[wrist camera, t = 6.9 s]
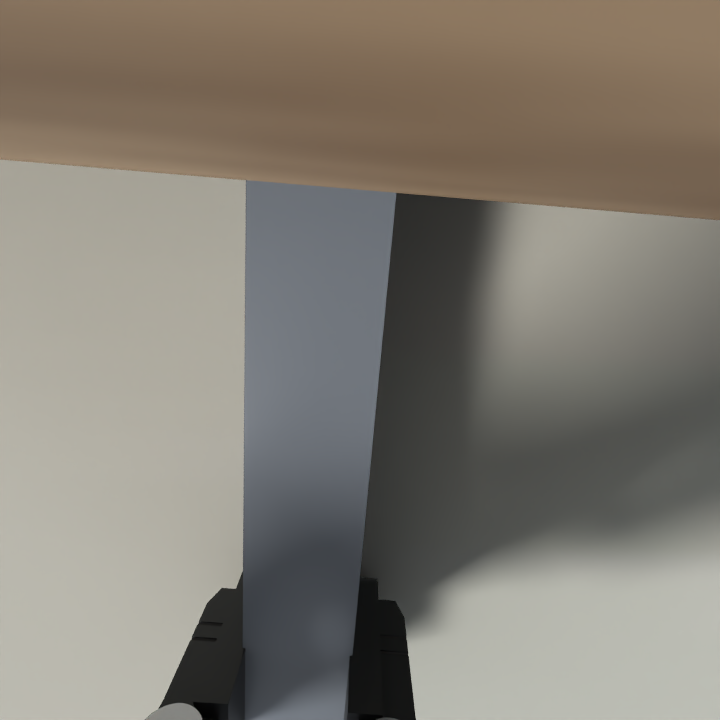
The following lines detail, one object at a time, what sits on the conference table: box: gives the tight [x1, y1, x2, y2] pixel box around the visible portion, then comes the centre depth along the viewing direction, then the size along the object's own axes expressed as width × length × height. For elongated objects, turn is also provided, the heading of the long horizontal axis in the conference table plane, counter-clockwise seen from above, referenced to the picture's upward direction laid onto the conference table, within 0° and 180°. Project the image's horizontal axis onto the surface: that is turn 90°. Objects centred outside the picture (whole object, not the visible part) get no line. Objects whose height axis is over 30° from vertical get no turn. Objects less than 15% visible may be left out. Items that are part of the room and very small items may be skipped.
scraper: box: [243, 180, 396, 720], centre depth 8 cm, size 23×10×3 cm, turn 175°
